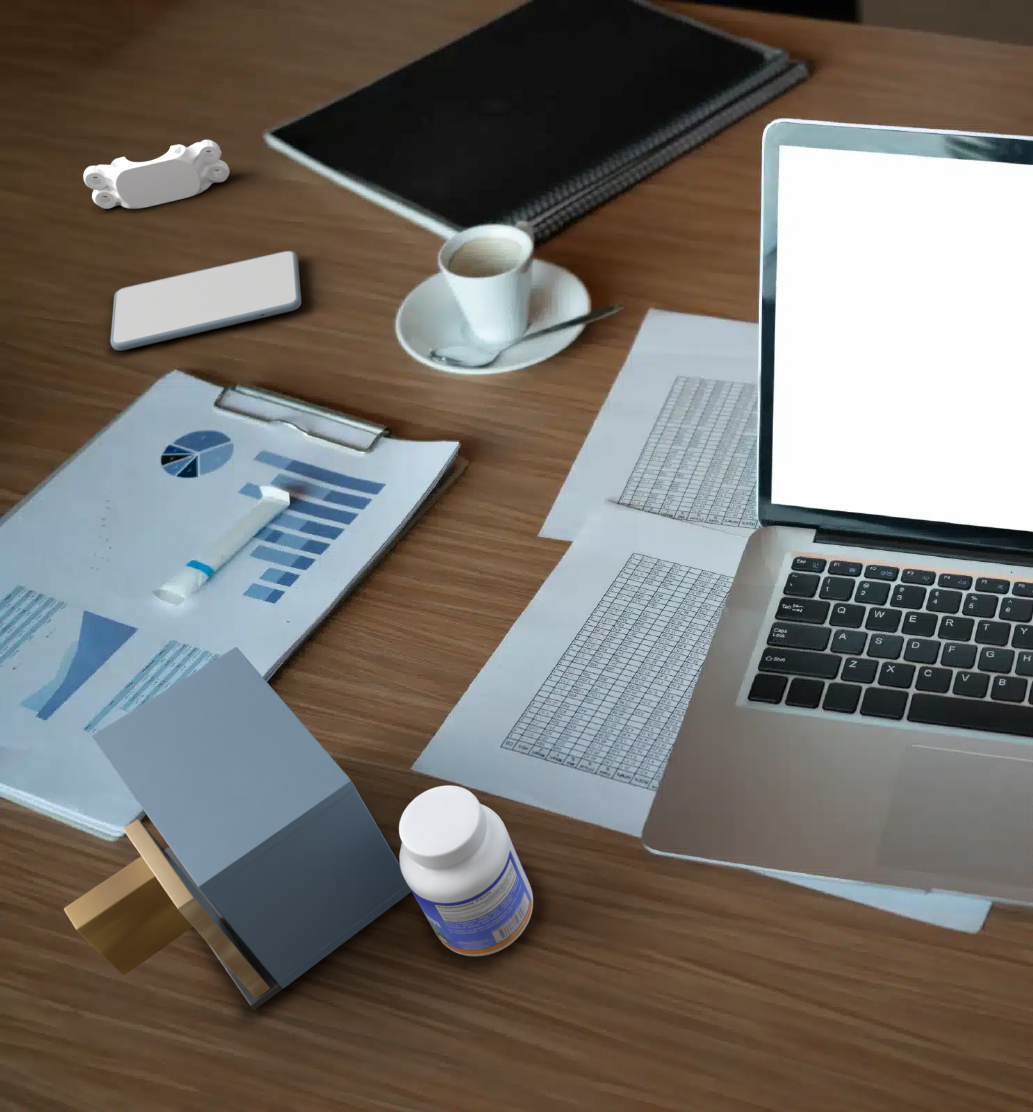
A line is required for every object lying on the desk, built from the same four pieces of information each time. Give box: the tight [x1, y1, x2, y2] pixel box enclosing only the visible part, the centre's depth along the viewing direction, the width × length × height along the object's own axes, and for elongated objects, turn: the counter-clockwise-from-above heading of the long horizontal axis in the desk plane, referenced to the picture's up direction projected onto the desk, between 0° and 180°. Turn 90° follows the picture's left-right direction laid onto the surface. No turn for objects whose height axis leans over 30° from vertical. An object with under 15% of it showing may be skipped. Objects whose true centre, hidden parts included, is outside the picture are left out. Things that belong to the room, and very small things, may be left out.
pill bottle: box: [398, 784, 534, 957], centre depth 67 cm, size 5×5×10 cm
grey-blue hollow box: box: [91, 646, 412, 1010], centre depth 69 cm, size 10×12×11 cm
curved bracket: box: [82, 139, 231, 210], centre depth 120 cm, size 12×2×4 cm, turn 113°
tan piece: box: [63, 818, 270, 998], centre depth 64 cm, size 5×6×10 cm
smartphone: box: [109, 250, 302, 351], centre depth 109 cm, size 8×1×15 cm
